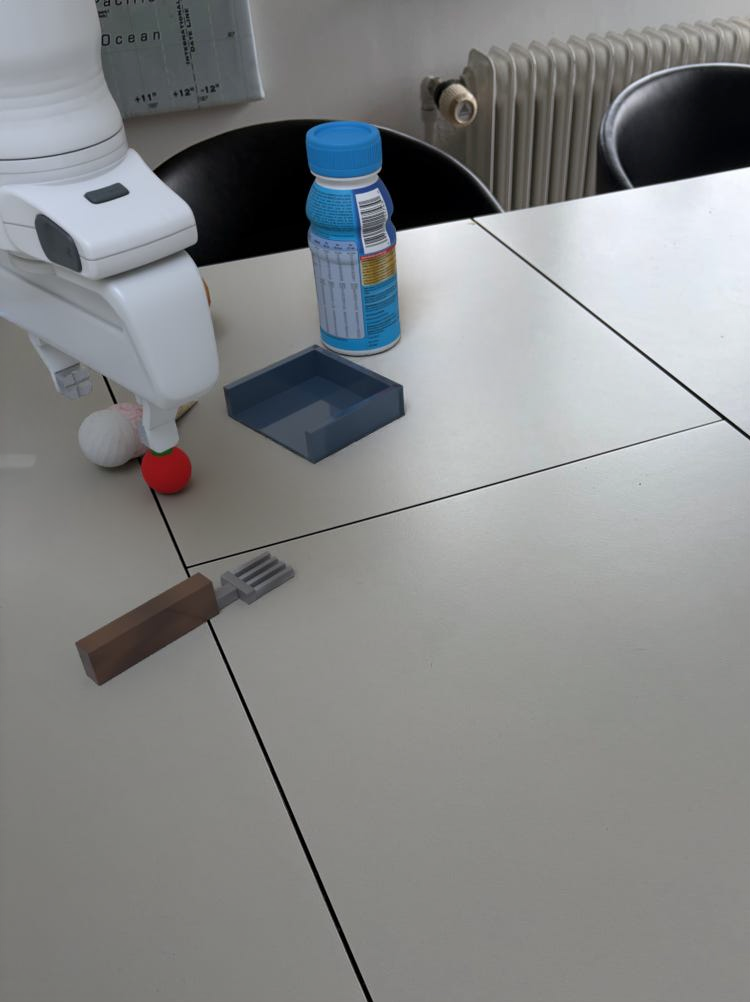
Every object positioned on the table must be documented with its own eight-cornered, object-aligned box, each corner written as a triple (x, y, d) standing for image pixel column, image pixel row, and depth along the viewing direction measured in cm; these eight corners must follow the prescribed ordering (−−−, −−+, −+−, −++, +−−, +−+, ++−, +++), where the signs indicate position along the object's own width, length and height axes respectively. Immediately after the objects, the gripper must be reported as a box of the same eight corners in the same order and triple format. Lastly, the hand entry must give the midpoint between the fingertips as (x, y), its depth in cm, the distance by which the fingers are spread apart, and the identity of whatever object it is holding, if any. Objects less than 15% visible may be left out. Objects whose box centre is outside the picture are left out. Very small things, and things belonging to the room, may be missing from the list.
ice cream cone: (171, 404, 99) (59, 450, 87) (187, 364, 96) (74, 406, 84) (209, 435, 99) (103, 485, 87) (226, 395, 96) (119, 442, 84)
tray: (228, 415, 96) (222, 386, 94) (318, 372, 101) (315, 343, 99) (314, 463, 90) (310, 433, 88) (405, 414, 96) (403, 385, 93)
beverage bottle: (316, 359, 103) (290, 147, 90) (323, 321, 110) (299, 117, 96) (401, 358, 104) (388, 145, 90) (403, 319, 110) (391, 115, 96)
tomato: (137, 490, 87) (126, 448, 84) (177, 470, 89) (167, 429, 86) (165, 508, 85) (154, 466, 82) (205, 488, 87) (196, 446, 84)
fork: (106, 691, 69) (94, 659, 67) (79, 669, 71) (67, 636, 69) (295, 576, 78) (289, 544, 76) (268, 558, 80) (262, 527, 78)
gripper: (-95, 163, 59) (-14, 383, 68) (105, 258, 49) (169, 501, 58) (7, 136, 62) (71, 349, 72) (214, 219, 52) (258, 455, 61)
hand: (117, 418), depth 65 cm, fingers open, 8 cm apart
